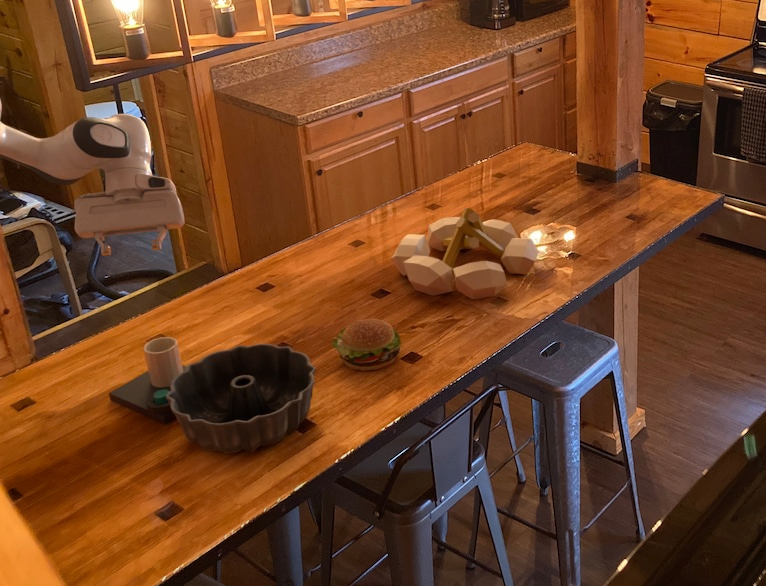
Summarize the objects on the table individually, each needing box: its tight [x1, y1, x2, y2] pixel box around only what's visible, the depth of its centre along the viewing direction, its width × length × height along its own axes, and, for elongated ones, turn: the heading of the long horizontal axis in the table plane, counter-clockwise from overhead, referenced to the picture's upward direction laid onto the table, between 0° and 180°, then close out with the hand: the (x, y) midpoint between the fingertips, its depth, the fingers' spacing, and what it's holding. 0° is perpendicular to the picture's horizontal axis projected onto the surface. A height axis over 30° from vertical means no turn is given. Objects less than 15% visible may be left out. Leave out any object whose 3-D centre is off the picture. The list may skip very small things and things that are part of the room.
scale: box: [108, 364, 187, 425], centre depth 190 cm, size 16×14×4 cm
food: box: [331, 318, 402, 372], centre depth 202 cm, size 14×14×8 cm
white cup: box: [142, 336, 183, 388], centre depth 191 cm, size 6×6×8 cm
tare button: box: [154, 390, 169, 404], centre depth 183 cm, size 3×3×2 cm
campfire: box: [390, 207, 539, 301], centre depth 238 cm, size 35×34×17 cm
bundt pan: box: [166, 343, 317, 454], centre depth 180 cm, size 26×26×10 cm
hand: (131, 252), depth 192 cm, fingers open, 8 cm apart
